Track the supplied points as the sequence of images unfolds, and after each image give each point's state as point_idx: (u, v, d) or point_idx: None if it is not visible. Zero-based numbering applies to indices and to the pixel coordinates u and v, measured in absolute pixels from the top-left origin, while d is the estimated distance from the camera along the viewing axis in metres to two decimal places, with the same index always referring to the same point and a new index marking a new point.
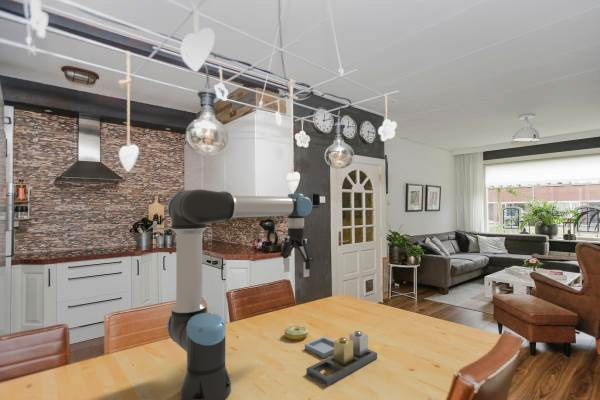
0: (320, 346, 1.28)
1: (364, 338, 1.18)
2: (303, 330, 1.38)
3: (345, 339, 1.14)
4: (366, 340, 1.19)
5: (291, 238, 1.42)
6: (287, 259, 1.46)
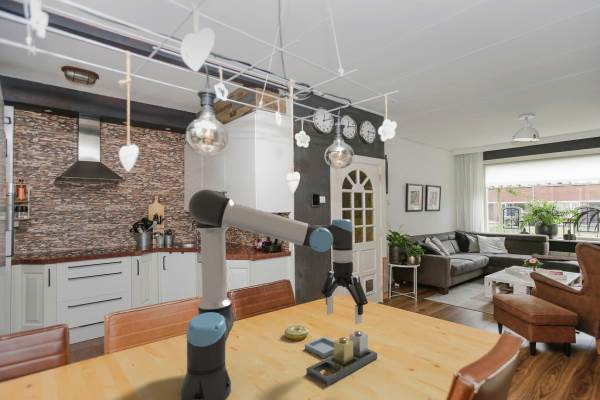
0: (320, 346, 1.28)
1: (364, 338, 1.18)
2: (303, 330, 1.38)
3: (345, 339, 1.14)
4: (366, 340, 1.19)
5: (337, 274, 1.15)
6: (330, 298, 1.19)
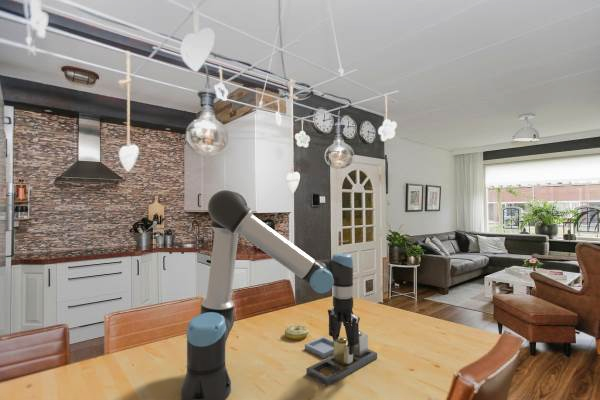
0: (320, 346, 1.28)
1: (364, 338, 1.18)
2: (303, 330, 1.39)
3: (345, 339, 1.14)
4: (366, 340, 1.19)
5: (336, 307, 1.15)
6: None
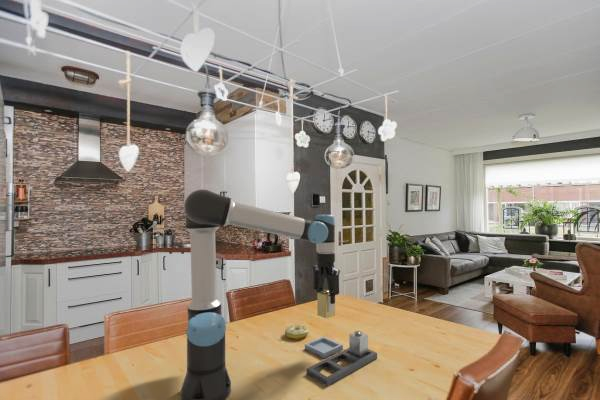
0: (320, 346, 1.28)
1: (364, 338, 1.18)
2: (303, 329, 1.39)
3: (327, 291, 1.25)
4: (366, 340, 1.19)
5: (319, 263, 1.27)
6: None
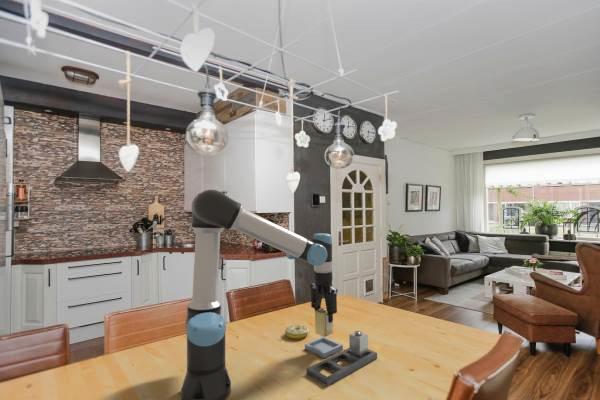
0: (320, 346, 1.28)
1: (364, 338, 1.18)
2: (304, 329, 1.39)
3: (325, 309, 1.27)
4: (366, 340, 1.19)
5: (317, 281, 1.29)
6: None
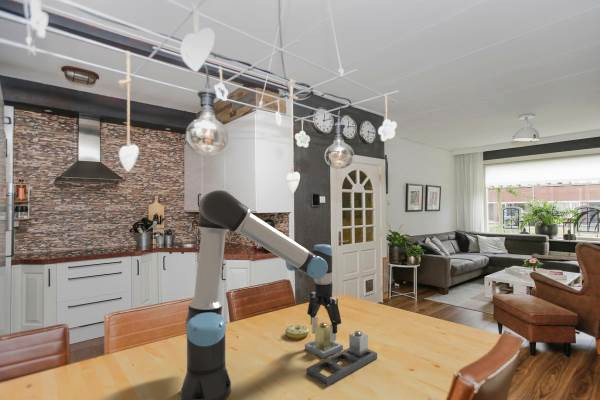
0: None
1: (364, 338, 1.18)
2: (304, 329, 1.39)
3: (325, 324, 1.27)
4: (366, 340, 1.19)
5: (317, 293, 1.28)
6: (315, 319, 1.31)
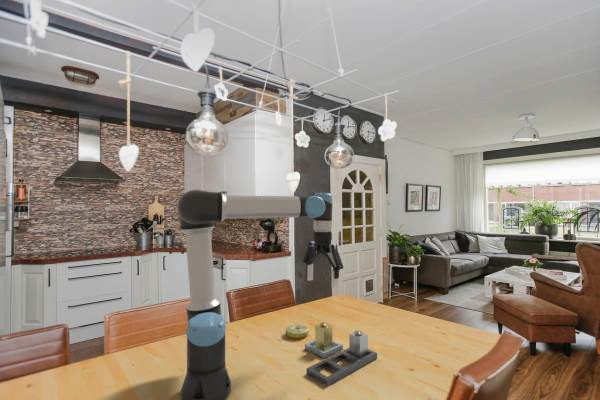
0: None
1: (364, 338, 1.18)
2: (304, 329, 1.40)
3: (325, 324, 1.27)
4: (366, 340, 1.19)
5: (317, 243, 1.26)
6: (311, 266, 1.30)
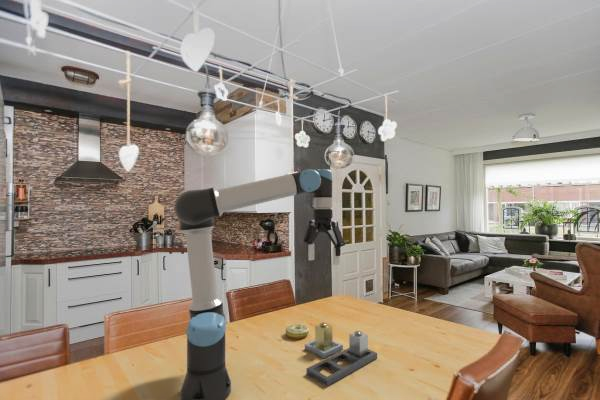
0: None
1: (364, 338, 1.18)
2: (304, 329, 1.40)
3: (325, 324, 1.27)
4: (366, 340, 1.19)
5: (317, 221, 1.23)
6: (312, 245, 1.27)
